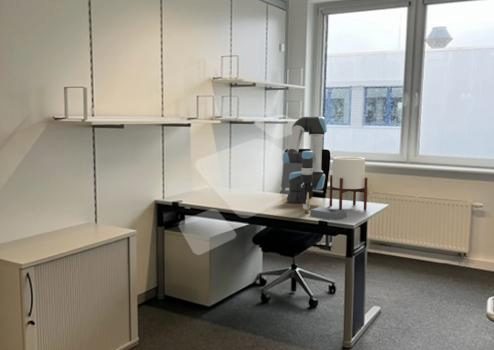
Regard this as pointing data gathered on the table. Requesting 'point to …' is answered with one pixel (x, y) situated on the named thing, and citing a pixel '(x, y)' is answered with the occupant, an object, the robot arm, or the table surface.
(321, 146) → the robot arm
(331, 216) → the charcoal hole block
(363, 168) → the plant pot with stand
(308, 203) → the brass peg
